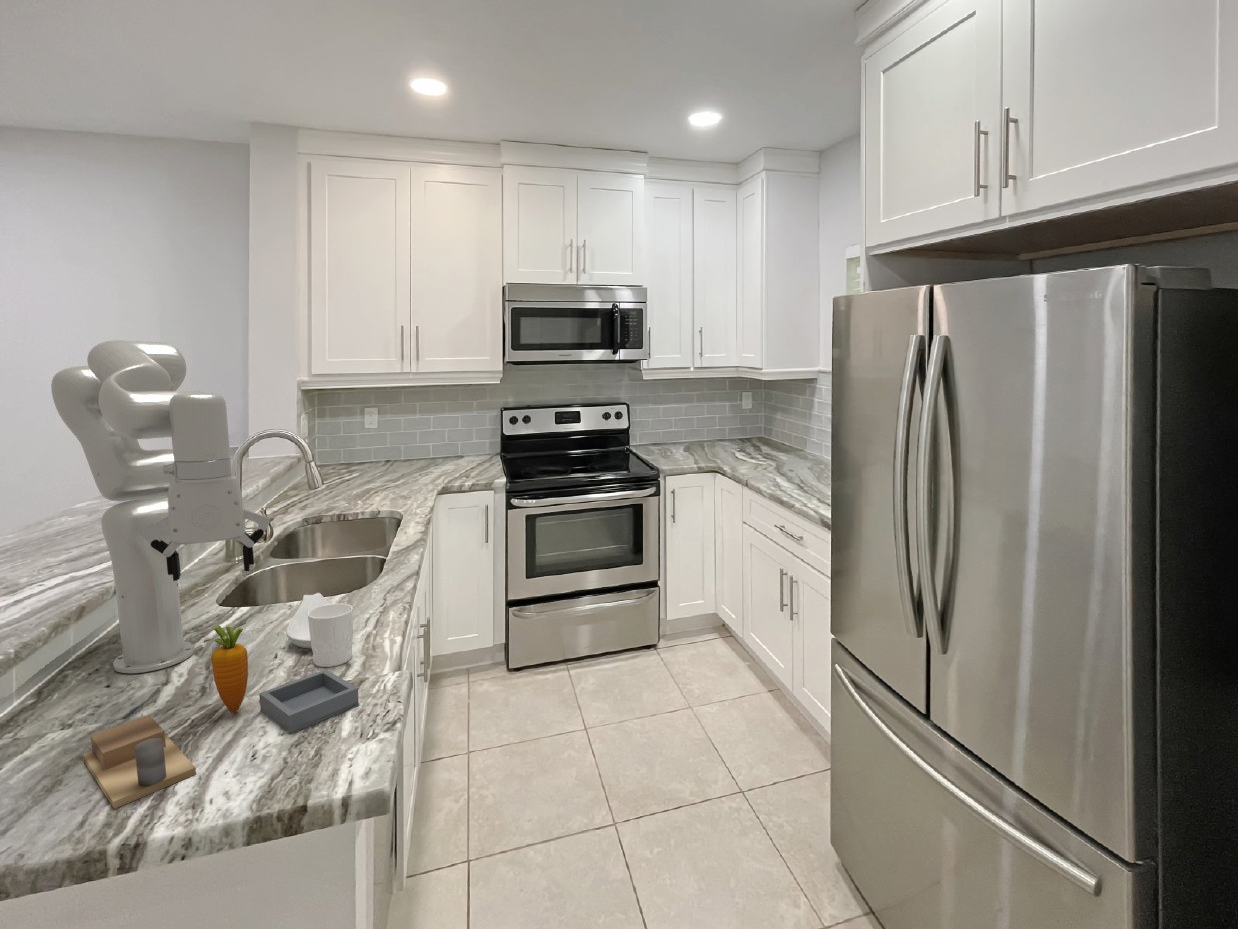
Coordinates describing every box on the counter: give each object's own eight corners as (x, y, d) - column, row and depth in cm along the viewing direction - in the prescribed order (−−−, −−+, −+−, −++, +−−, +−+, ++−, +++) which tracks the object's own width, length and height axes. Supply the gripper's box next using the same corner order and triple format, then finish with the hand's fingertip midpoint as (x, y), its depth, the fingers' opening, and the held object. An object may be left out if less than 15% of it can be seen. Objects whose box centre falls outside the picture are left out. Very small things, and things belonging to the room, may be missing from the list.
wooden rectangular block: (92, 751, 88) (90, 735, 88) (151, 730, 94) (149, 714, 93) (104, 770, 84) (102, 753, 84) (165, 746, 89) (164, 730, 89)
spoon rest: (354, 647, 126) (352, 614, 125) (290, 661, 120) (287, 626, 119) (337, 611, 146) (335, 582, 145) (280, 622, 140) (278, 591, 139)
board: (83, 761, 88) (78, 721, 87) (159, 733, 95) (155, 696, 94) (113, 809, 78) (108, 765, 77) (196, 774, 85) (192, 733, 84)
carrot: (259, 708, 102) (252, 621, 100) (231, 723, 97) (223, 633, 95) (237, 703, 104) (229, 617, 102) (209, 718, 99) (200, 629, 97)
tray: (260, 710, 101) (259, 693, 101) (327, 685, 110) (325, 669, 109) (290, 734, 94) (289, 715, 94) (358, 705, 103) (357, 688, 102)
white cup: (339, 670, 115) (336, 619, 114) (301, 667, 117) (298, 616, 115) (363, 652, 123) (360, 604, 122) (327, 649, 124) (324, 602, 123)
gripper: (131, 477, 91) (143, 589, 93) (266, 469, 100) (273, 571, 102) (140, 471, 97) (150, 575, 100) (265, 464, 106) (272, 560, 108)
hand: (212, 573), depth 101 cm, fingers open, 9 cm apart
